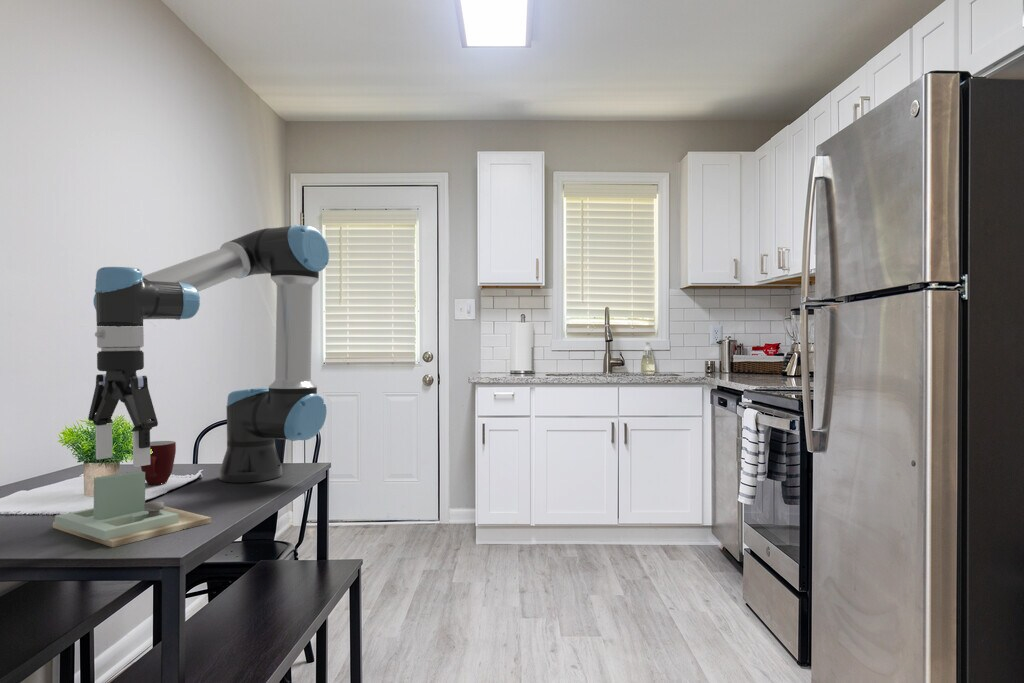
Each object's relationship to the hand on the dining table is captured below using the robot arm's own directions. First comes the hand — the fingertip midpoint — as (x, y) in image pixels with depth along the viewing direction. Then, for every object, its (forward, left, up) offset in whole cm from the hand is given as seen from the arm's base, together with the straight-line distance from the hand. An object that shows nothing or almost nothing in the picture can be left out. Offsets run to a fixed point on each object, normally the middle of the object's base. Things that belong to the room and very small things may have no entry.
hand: (122, 462), depth 120 cm
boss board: (-2, 0, -12) cm, 13 cm away
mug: (-24, -32, -13) cm, 42 cm away
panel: (+1, 0, -11) cm, 11 cm away
